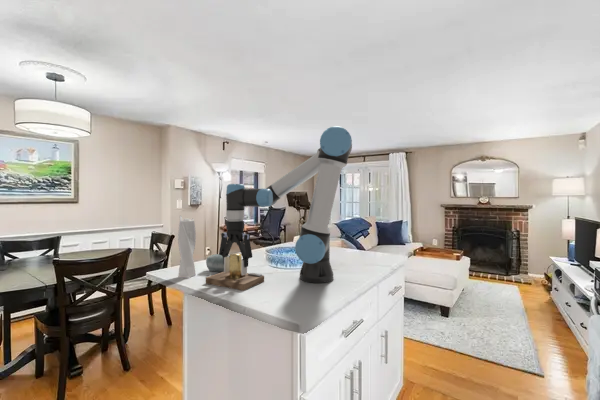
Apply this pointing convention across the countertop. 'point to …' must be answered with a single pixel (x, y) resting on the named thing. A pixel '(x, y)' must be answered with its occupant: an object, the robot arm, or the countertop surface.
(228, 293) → the countertop surface
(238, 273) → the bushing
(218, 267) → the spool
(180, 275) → the skyscraper
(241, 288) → the jig
